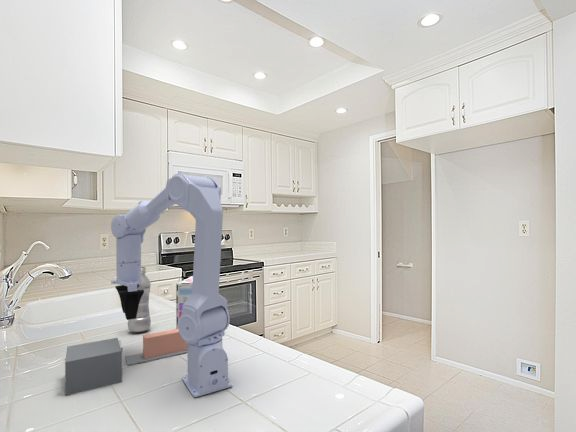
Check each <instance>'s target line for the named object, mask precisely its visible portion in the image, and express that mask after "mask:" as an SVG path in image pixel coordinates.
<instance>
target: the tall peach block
mask: <svg viewBox="0 0 576 432" xmlns="http://www.w3.org/2000/svg"><path fill="white" fill-rule="evenodd" d="M183 350H186V351H187V343H185V342H184V340H183V339H182V337H181V336H180V333H179V329H176V328H175V329H168V330H164V331H158V332H153V333H147V334H143V335H142V353H143V356H144V358H145V359H147V358H151V357H156V356H160V355H165V354H169V353H174V352H179V351H183Z"/></svg>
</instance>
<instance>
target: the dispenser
mask: <svg viewBox="0 0 576 432" xmlns="http://www.w3.org/2000/svg"><path fill="white" fill-rule="evenodd" d="M123 351H124V346H123V343H122V340H121V339H119V338H118V337H114V338H113V337H112V338H107V339H102V340H96V341H91V342H85V343H79V344H75V345H69V346H67V347H66V353H65V361H64V363H65V364H64V378H65V379H64V381H65V382H64V385H65V386H64V387H65V390H64V394H65V396H68V395H72V394H77V393H80V392H85V391H90V390H93V389H97V388H98V389H99V388H103V387H106V386H109V385H114V384H119V383H122V382H123V375H122V374H123V372H122V371H123V369H122V367H123V366H122V365H123V363H122V359H123V358H122V357H123V355H122V353H123Z"/></svg>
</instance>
